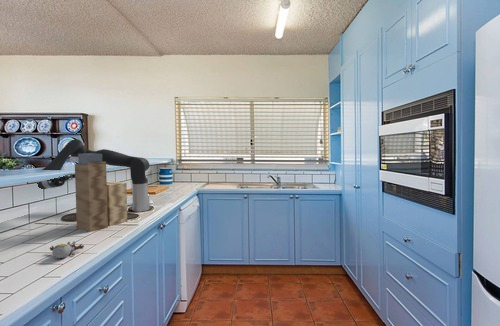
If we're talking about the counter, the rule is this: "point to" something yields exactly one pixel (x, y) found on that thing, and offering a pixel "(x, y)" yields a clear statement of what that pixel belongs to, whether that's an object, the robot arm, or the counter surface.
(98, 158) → the bar
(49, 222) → the counter surface
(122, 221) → the tan wooden block
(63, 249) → the toy
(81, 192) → the stand
